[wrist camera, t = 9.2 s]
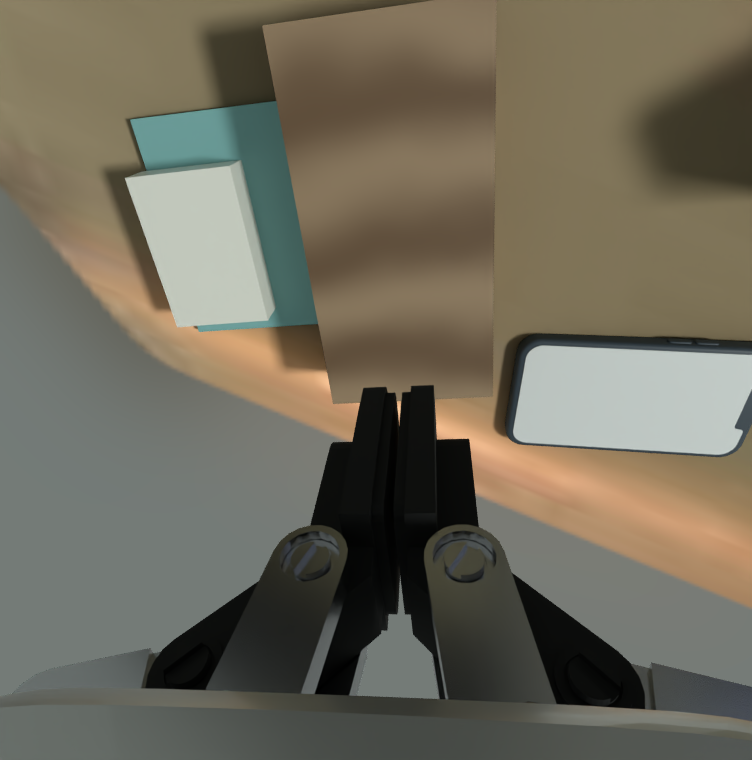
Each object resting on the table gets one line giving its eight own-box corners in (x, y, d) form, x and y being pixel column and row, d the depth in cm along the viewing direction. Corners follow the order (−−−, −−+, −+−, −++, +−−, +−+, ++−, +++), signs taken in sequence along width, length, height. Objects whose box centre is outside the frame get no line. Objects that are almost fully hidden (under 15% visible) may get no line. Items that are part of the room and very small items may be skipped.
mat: (133, 119, 28) (130, 119, 28) (290, 99, 27) (288, 99, 27) (201, 329, 35) (198, 331, 35) (328, 320, 34) (327, 323, 33)
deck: (284, 30, 25) (262, 25, 22) (486, 1, 24) (496, -9, 21) (342, 371, 36) (333, 403, 32) (486, 363, 34) (492, 396, 31)
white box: (229, 165, 27) (241, 159, 28) (124, 178, 28) (142, 171, 29) (267, 320, 31) (276, 307, 33) (177, 327, 32) (189, 314, 34)
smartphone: (501, 432, 38) (725, 446, 37) (503, 446, 37) (736, 461, 35) (518, 326, 34) (775, 337, 32) (521, 337, 32) (790, 349, 31)
